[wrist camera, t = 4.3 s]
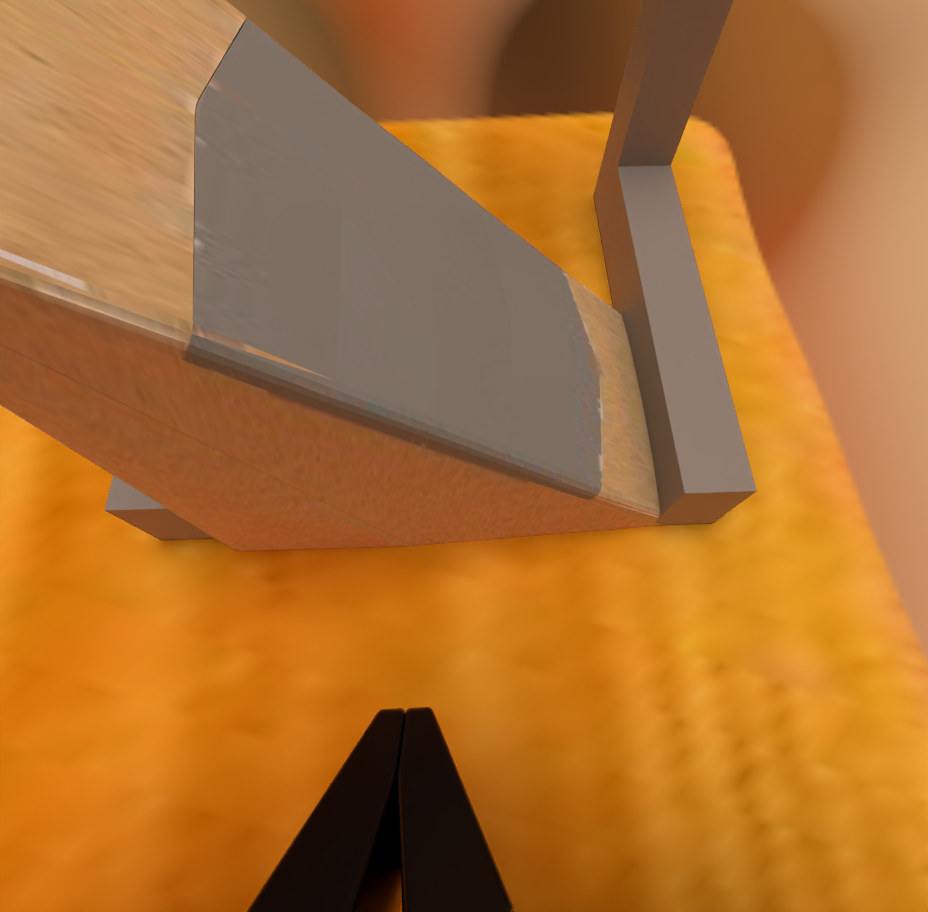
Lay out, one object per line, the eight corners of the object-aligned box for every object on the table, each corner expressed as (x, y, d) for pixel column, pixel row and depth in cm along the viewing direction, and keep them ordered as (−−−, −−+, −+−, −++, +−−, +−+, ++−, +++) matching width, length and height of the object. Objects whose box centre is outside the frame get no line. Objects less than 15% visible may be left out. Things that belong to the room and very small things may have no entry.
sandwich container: (695, 534, 18) (1367, 37, 5) (232, 562, 18) (-510, 117, 4) (644, 324, 22) (943, -310, 8) (256, 345, 22) (-110, -279, 8)
